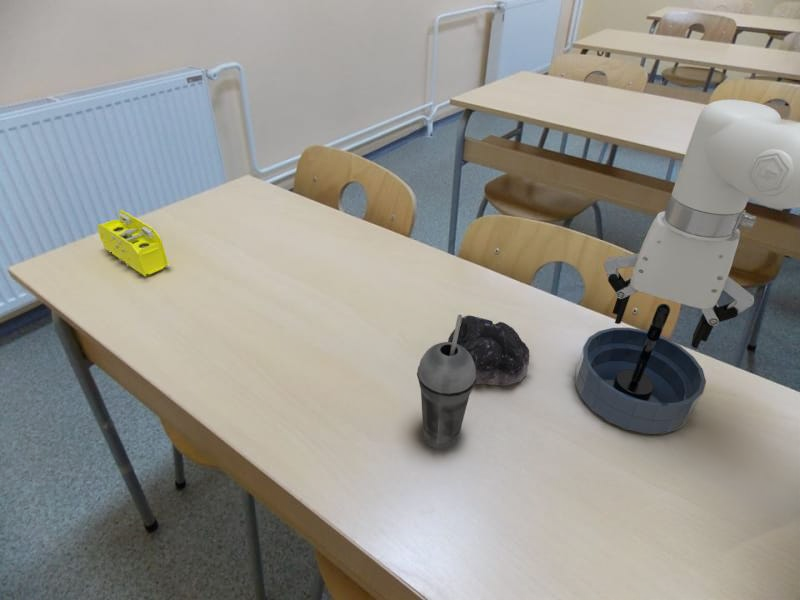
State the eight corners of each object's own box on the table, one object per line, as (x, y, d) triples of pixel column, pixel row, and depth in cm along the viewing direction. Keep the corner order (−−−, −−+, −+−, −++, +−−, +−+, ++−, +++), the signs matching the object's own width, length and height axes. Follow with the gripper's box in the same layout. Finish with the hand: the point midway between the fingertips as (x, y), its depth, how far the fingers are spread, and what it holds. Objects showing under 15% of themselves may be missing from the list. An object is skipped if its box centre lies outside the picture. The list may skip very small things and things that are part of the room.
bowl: (716, 419, 73) (732, 388, 70) (622, 450, 68) (635, 419, 65) (636, 347, 85) (647, 318, 82) (553, 369, 81) (561, 340, 77)
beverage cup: (402, 431, 70) (406, 314, 59) (443, 407, 74) (454, 293, 62) (437, 468, 66) (449, 349, 54) (479, 440, 69) (498, 324, 57)
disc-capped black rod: (658, 398, 75) (696, 312, 66) (629, 406, 74) (664, 320, 65) (633, 374, 79) (666, 290, 70) (605, 382, 78) (635, 297, 69)
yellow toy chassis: (172, 268, 102) (161, 231, 97) (144, 280, 99) (132, 242, 94) (131, 242, 110) (119, 206, 105) (104, 252, 107) (91, 215, 102)
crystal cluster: (482, 327, 90) (481, 279, 84) (550, 360, 82) (555, 310, 76) (430, 368, 83) (425, 319, 77) (499, 409, 74) (499, 358, 69)
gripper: (787, 220, 59) (728, 336, 69) (629, 187, 66) (597, 297, 76) (789, 248, 54) (726, 369, 64) (617, 209, 61) (584, 324, 71)
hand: (655, 330), depth 70 cm, fingers open, 9 cm apart
